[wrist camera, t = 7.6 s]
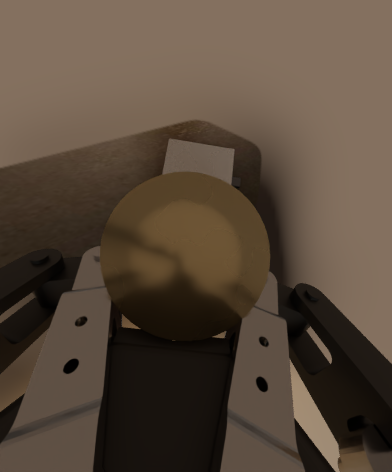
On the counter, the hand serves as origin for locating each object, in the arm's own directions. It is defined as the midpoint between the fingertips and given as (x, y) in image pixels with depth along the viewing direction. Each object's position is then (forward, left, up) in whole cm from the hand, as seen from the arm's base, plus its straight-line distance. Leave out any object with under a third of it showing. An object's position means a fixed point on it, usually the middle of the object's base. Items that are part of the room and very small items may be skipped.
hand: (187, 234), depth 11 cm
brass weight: (0, -2, -4) cm, 5 cm away
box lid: (+1, +9, -12) cm, 15 cm away
